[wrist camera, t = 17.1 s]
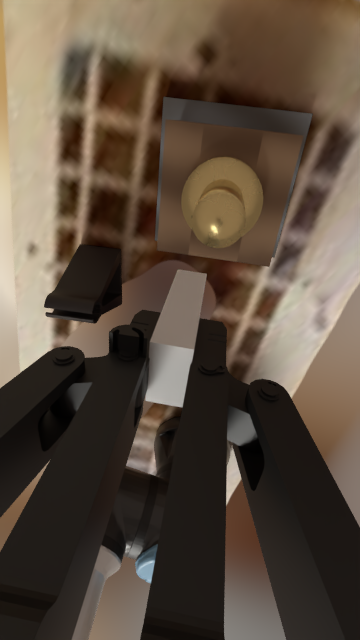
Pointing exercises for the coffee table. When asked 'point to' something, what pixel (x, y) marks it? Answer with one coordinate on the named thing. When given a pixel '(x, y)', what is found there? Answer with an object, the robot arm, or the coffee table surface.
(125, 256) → the coffee table surface
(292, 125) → the walnut block
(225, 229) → the brass pin
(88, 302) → the phone stand
